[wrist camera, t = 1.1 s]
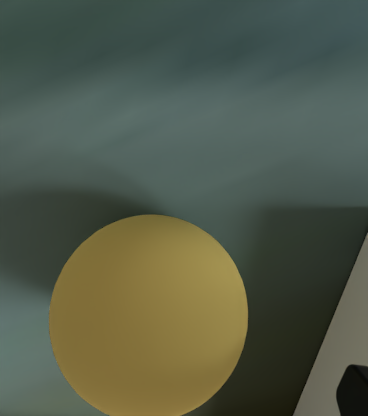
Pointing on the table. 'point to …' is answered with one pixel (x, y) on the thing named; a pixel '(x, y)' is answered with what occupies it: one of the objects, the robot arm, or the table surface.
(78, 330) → the ball
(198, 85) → the table surface
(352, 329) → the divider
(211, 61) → the table surface
